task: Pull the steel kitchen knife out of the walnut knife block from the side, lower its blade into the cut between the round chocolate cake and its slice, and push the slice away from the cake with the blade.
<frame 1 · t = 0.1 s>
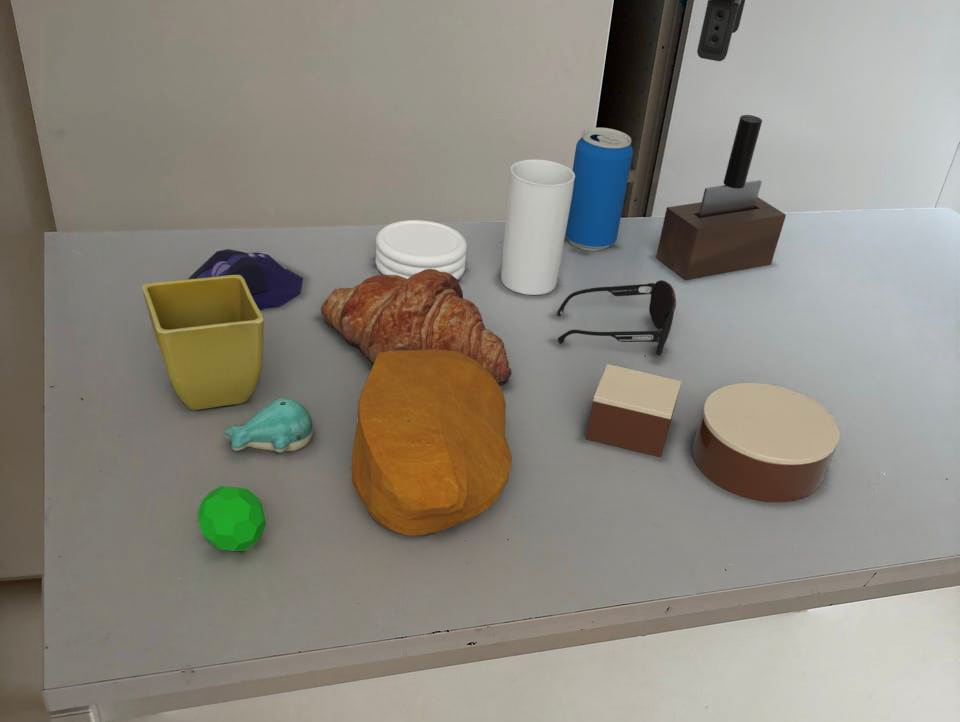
hand: (717, 44, 78), 30 cm above the table, tool pointing down, fingers open, 8 cm apart
cake slice: (628, 430, 93), on the table
mug: (532, 278, 113), on the table
sunglasses: (611, 336, 105), on the table
whale figurine: (270, 445, 87), on the table
polyhedron: (235, 544, 77), on the table
flower pot: (213, 395, 91), on the table
bread: (438, 480, 85), on the table
beverage can: (588, 243, 121), on the table
knife: (731, 193, 114), in the knife block
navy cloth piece: (240, 295, 104), on the table
cake: (757, 461, 91), on the table
pastry: (412, 352, 100), on the table
coaster: (420, 270, 112), on the table
knife block: (713, 261, 120), on the table
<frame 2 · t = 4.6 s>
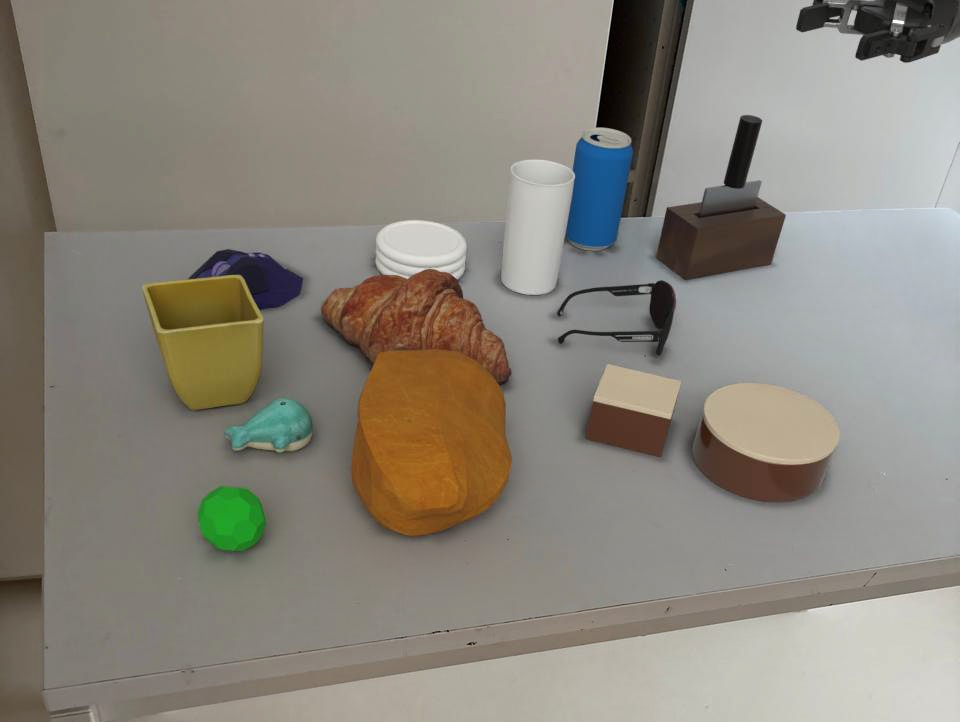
hand: (829, 34, 105), 24 cm above the table, tool horizontal, fingers open, 8 cm apart
nothing on the table moved.
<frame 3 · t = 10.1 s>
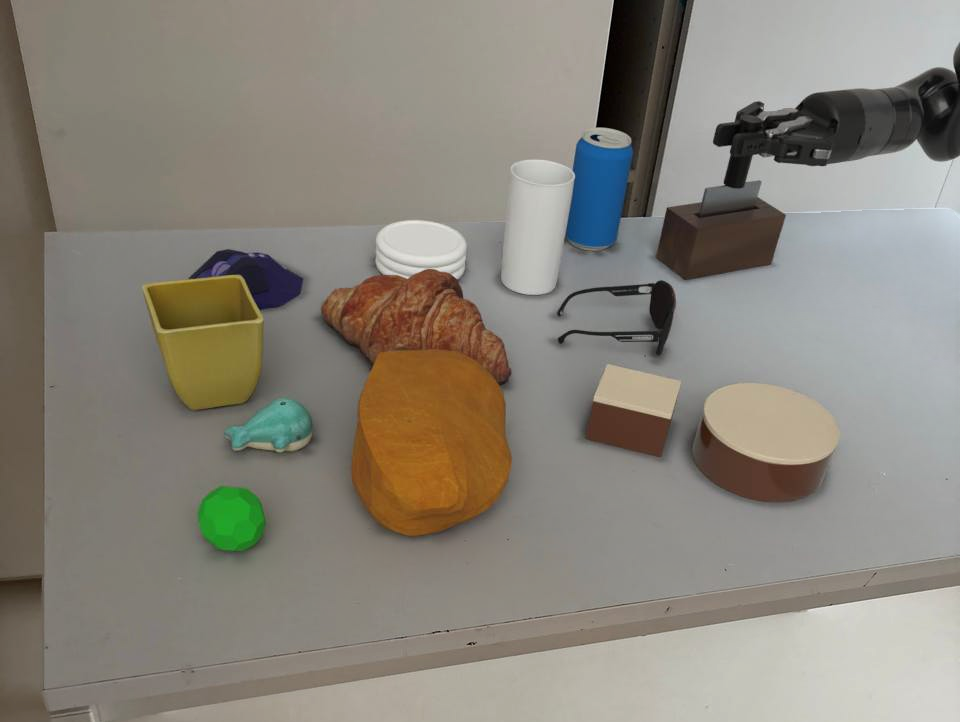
hand: (725, 140, 109), 14 cm above the table, tool horizontal, fingers closed on knife, 2 cm apart
knife: (731, 193, 114), in the knife block, touching gripper
everything else where it was.
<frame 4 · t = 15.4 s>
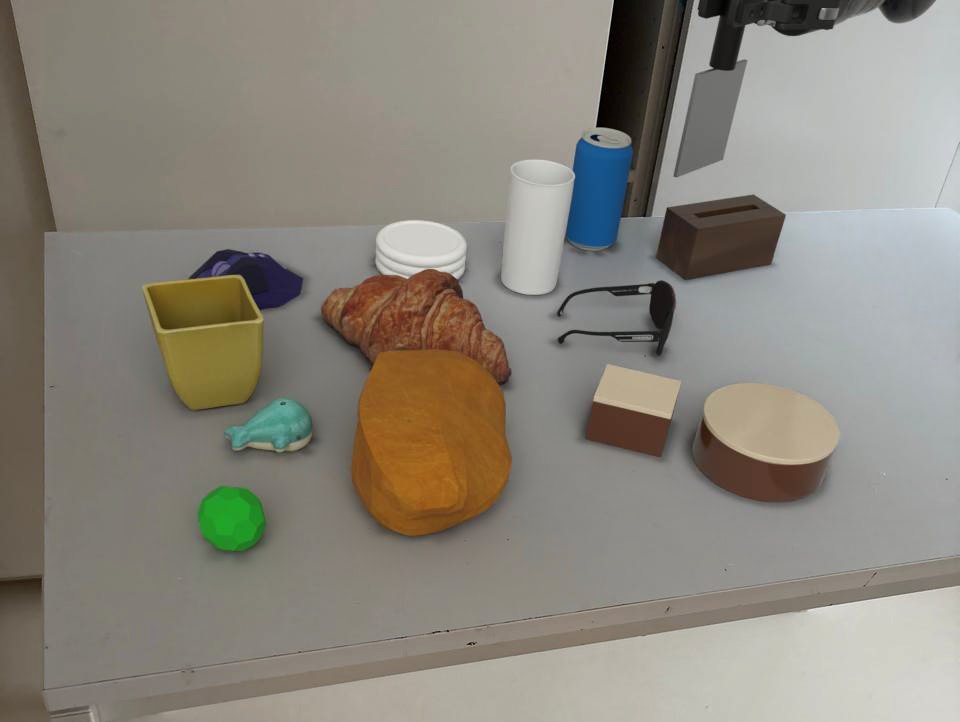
hand: (718, 8, 86), 30 cm above the table, tool horizontal, fingers closed on knife, 2 cm apart
knife: (719, 78, 92), point 24 cm above the table, touching gripper
everything else where it was.
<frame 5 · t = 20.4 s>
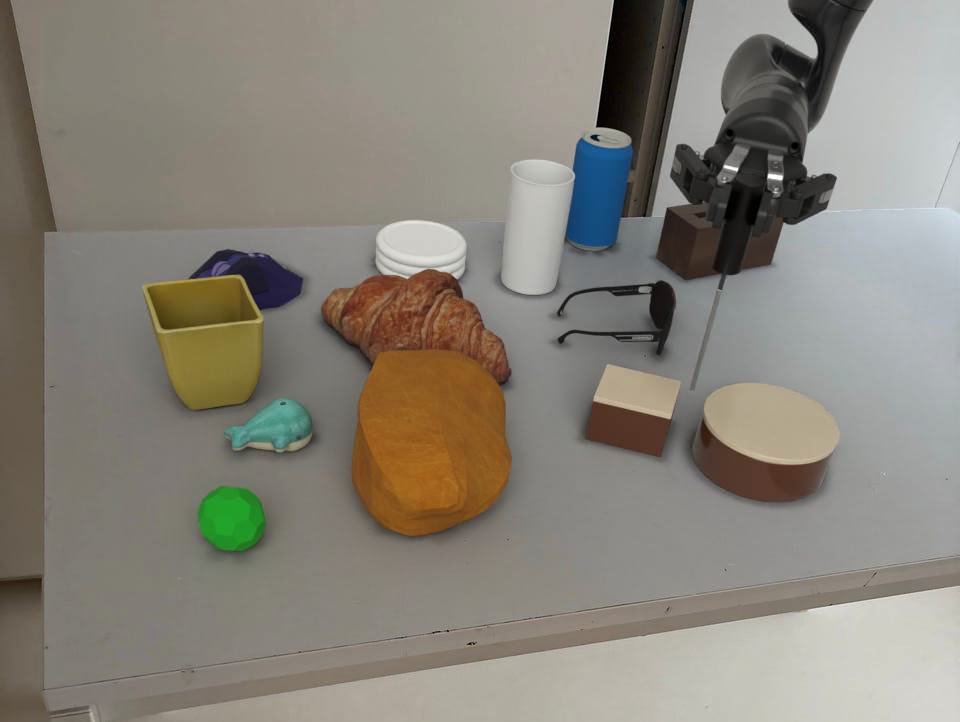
hand: (739, 220, 75), 22 cm above the table, tool horizontal, fingers closed on knife, 2 cm apart
knife: (722, 280, 81), point 16 cm above the table, touching gripper
everything else where it was.
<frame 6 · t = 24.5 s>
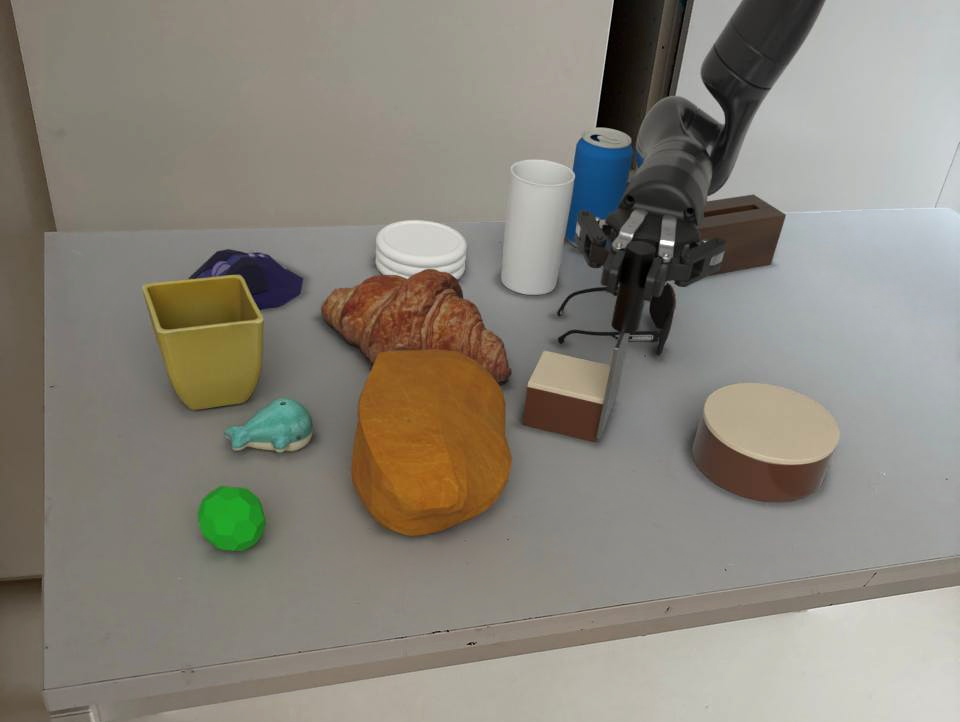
hand: (630, 285, 80), 15 cm above the table, tool horizontal, fingers closed on knife, 2 cm apart
cake slice: (566, 416, 94), on the table, touching knife
knife: (622, 337, 87), point 9 cm above the table, touching cake slice, gripper
everything else where it was.
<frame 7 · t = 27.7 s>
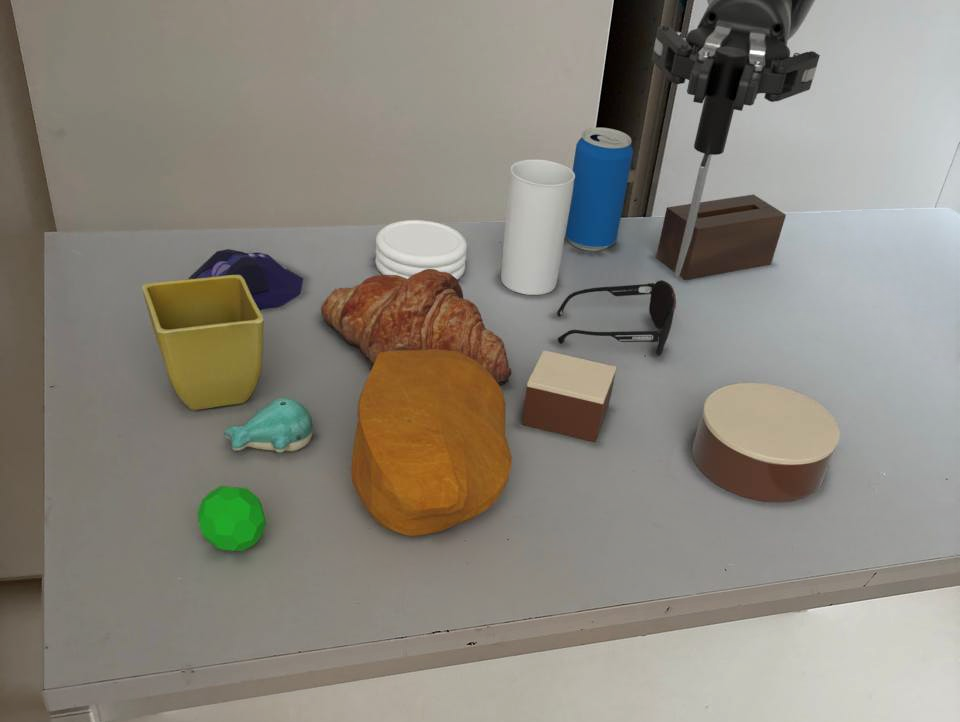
hand: (721, 91, 74), 28 cm above the table, tool horizontal, fingers closed on knife, 2 cm apart
cake slice: (565, 416, 94), on the table
knife: (705, 162, 80), point 22 cm above the table, touching gripper
everything else where it was.
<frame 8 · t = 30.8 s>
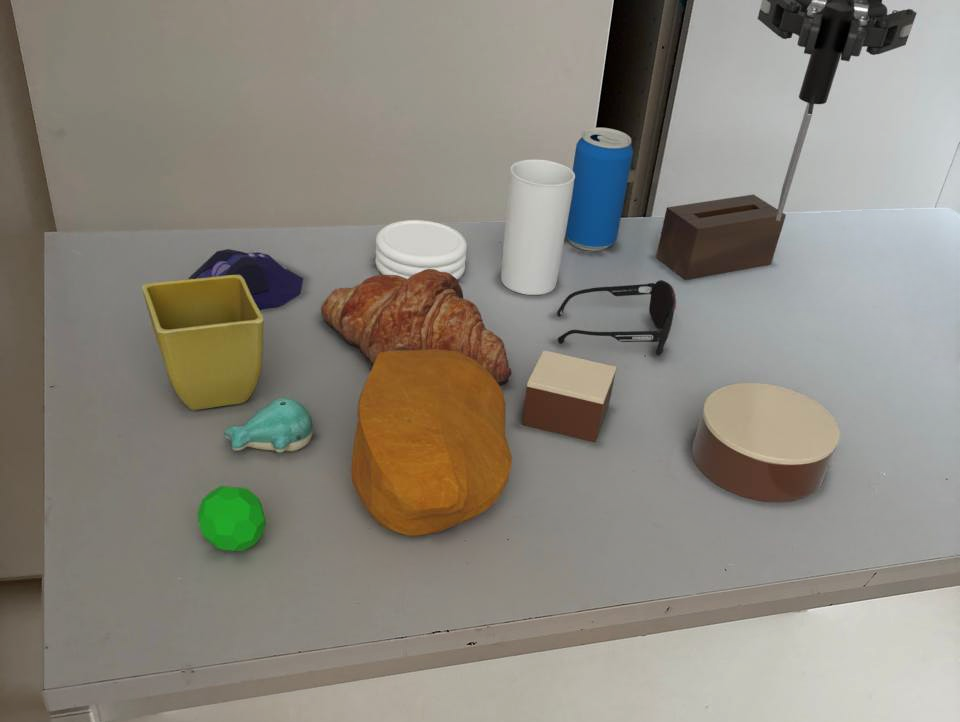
hand: (830, 43, 81), 30 cm above the table, tool horizontal, fingers closed on knife, 2 cm apart
knife: (808, 111, 87), point 24 cm above the table, touching gripper
everything else where it was.
at the end: cake slice 0.5 cm from the target spot on the table beside the cake, on the table; cake slice touching table; the gripper is holding knife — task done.
